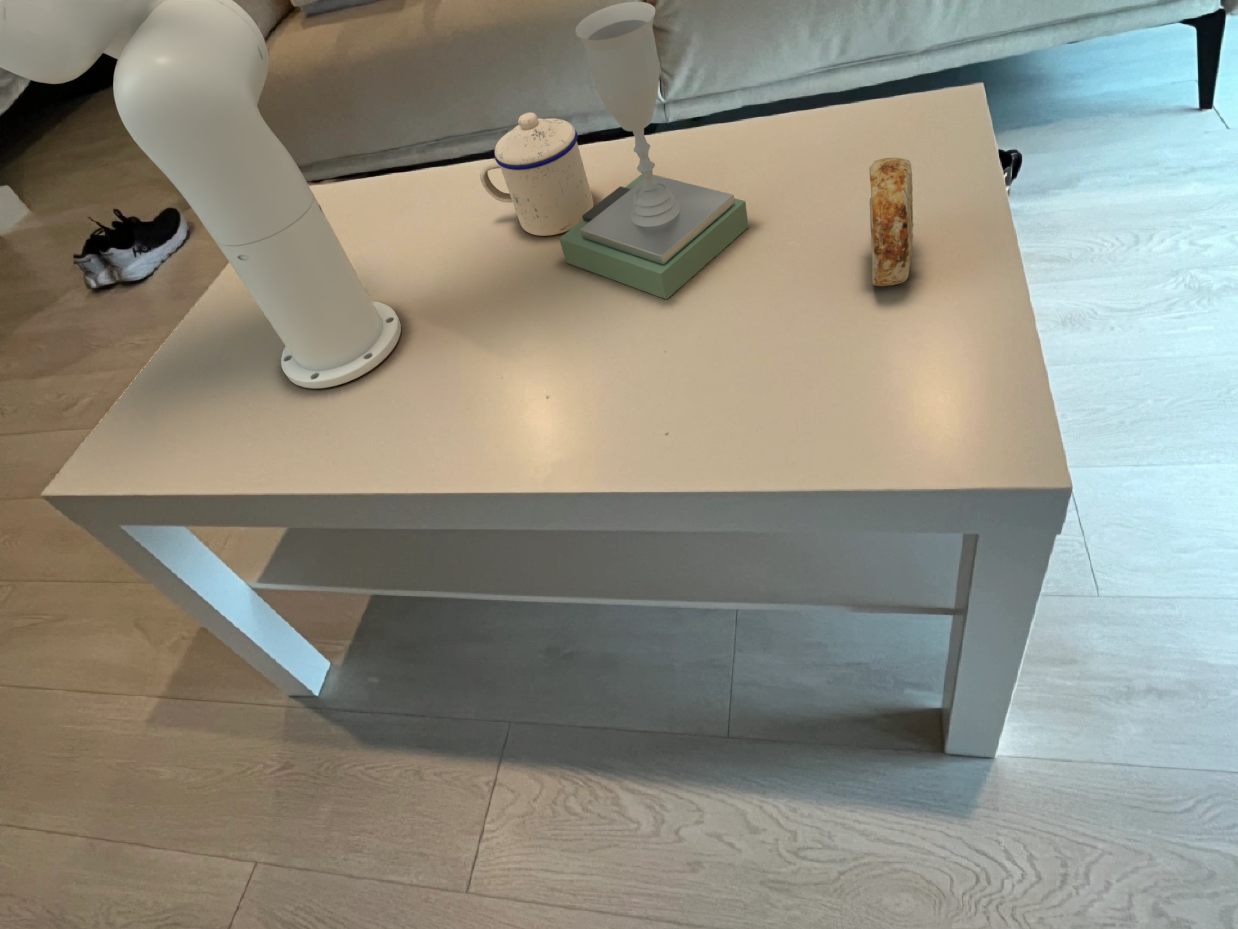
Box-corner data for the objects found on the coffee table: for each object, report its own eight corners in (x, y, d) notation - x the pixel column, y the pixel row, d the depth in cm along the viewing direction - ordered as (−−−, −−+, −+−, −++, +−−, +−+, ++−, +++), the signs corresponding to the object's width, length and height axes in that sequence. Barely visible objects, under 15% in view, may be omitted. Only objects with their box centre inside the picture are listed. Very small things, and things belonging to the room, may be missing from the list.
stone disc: (912, 306, 69) (917, 201, 62) (866, 307, 70) (866, 205, 63) (911, 235, 76) (916, 133, 69) (869, 237, 77) (870, 137, 70)
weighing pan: (581, 237, 82) (579, 229, 82) (652, 181, 86) (650, 173, 86) (663, 265, 76) (661, 256, 75) (735, 203, 80) (734, 194, 79)
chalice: (683, 230, 77) (647, 32, 64) (615, 235, 79) (566, 45, 66) (694, 188, 82) (662, -4, 69) (629, 194, 84) (586, 8, 71)
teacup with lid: (603, 189, 94) (577, 89, 86) (587, 234, 88) (557, 132, 80) (507, 199, 97) (474, 104, 89) (486, 244, 92) (447, 146, 83)
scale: (566, 262, 86) (557, 233, 83) (646, 198, 91) (640, 168, 88) (666, 299, 78) (659, 268, 75) (748, 227, 83) (745, 195, 80)
